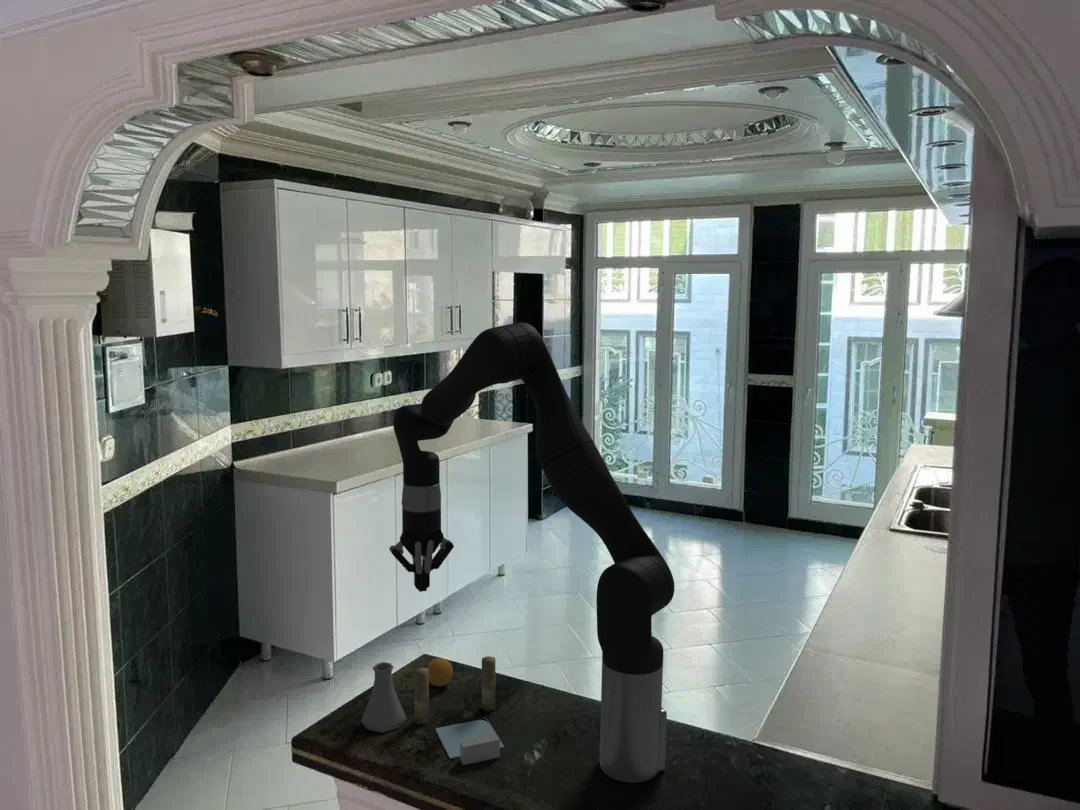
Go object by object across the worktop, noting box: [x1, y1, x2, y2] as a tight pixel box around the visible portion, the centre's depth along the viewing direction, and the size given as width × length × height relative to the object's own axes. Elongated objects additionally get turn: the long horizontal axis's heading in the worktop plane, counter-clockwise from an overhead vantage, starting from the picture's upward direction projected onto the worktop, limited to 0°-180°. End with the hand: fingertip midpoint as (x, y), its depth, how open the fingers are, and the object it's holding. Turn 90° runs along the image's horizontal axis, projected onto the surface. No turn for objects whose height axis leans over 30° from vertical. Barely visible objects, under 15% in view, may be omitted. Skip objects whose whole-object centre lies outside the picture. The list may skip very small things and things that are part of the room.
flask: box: [360, 661, 408, 734], centre depth 134 cm, size 7×7×10 cm
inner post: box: [481, 656, 496, 710], centre depth 138 cm, size 2×2×9 cm
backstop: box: [459, 733, 501, 766], centre depth 124 cm, size 6×2×3 cm, turn 112°
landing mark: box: [434, 719, 505, 760], centre depth 130 cm, size 9×9×1 cm
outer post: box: [413, 667, 430, 725], centre depth 134 cm, size 2×2×9 cm
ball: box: [426, 657, 454, 687], centre depth 147 cm, size 5×5×5 cm
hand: (422, 589), depth 157 cm, fingers closed
